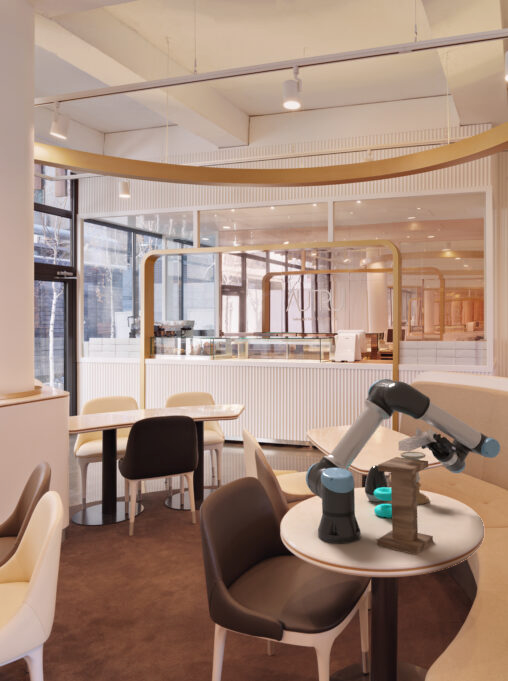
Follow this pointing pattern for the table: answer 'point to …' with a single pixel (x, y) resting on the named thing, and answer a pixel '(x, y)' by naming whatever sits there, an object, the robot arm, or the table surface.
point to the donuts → (385, 495)
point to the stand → (404, 506)
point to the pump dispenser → (375, 483)
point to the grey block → (415, 442)
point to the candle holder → (417, 475)
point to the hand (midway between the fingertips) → (423, 431)
